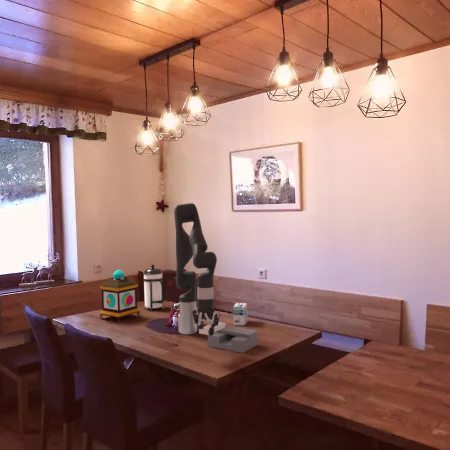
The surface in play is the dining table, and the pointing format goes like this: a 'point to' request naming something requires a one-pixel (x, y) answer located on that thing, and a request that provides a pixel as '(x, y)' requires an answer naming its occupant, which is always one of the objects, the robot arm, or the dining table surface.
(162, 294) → the coffee press
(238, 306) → the light bulb box
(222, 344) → the slot box
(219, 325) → the pale flat bar
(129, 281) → the decorative lantern
